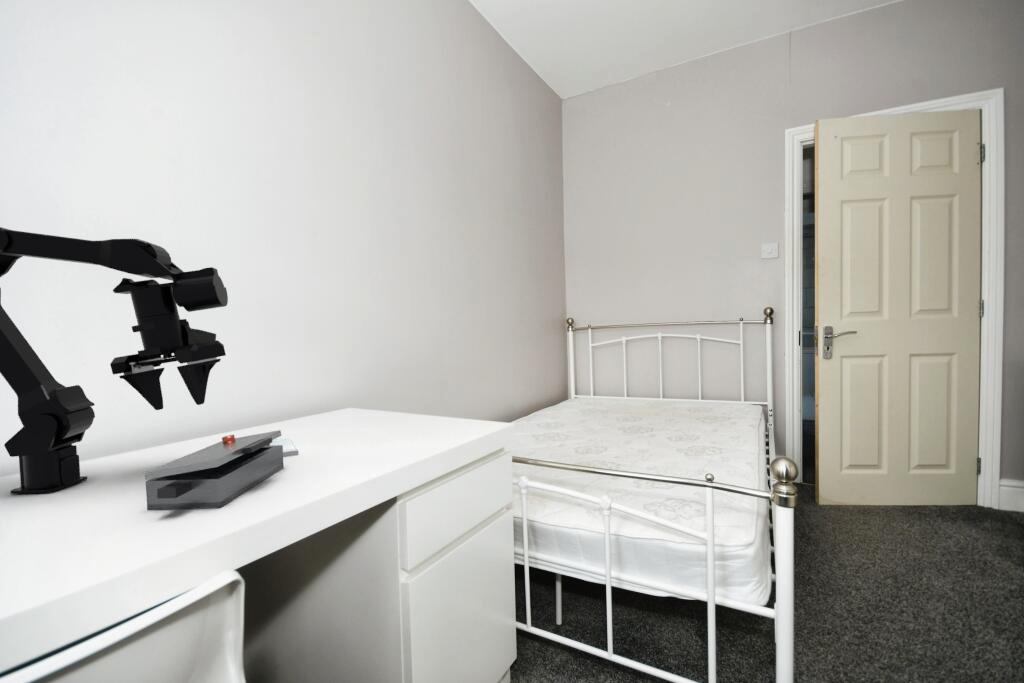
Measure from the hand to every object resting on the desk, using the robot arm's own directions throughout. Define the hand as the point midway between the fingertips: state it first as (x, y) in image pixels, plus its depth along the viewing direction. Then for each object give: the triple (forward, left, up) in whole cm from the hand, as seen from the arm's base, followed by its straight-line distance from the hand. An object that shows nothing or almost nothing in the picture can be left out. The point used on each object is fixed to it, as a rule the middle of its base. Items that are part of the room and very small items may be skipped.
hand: (179, 406), depth 80 cm
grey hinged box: (+11, -7, -12) cm, 18 cm away
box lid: (+12, -7, -6) cm, 15 cm away
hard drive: (+8, +13, -12) cm, 20 cm away
